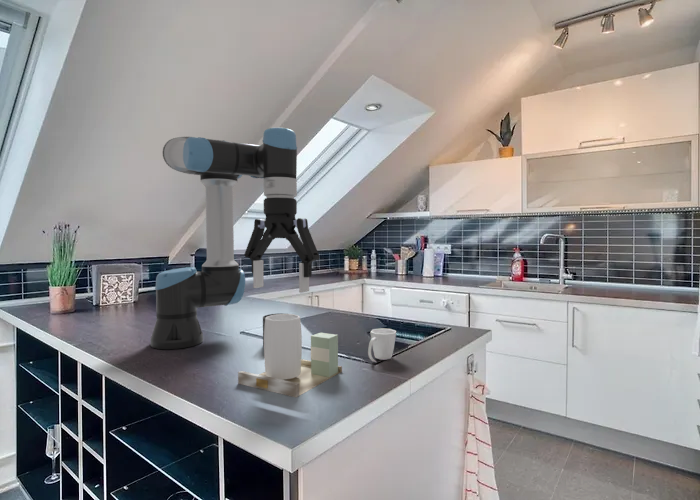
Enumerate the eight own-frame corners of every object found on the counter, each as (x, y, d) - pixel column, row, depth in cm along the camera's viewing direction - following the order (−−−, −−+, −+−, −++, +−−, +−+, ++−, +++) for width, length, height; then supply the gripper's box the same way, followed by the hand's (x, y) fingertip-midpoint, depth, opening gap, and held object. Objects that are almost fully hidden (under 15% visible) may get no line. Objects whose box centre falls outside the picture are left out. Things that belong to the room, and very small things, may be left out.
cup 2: (401, 360, 109) (401, 330, 109) (380, 370, 101) (380, 337, 101) (379, 355, 113) (379, 327, 113) (358, 364, 105) (358, 333, 105)
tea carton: (310, 373, 96) (310, 336, 96) (320, 368, 100) (320, 332, 99) (328, 377, 93) (328, 338, 93) (338, 372, 97) (337, 334, 97)
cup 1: (308, 381, 91) (307, 318, 91) (272, 388, 87) (272, 322, 86) (292, 370, 98) (292, 312, 98) (258, 377, 94) (258, 316, 93)
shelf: (237, 387, 90) (237, 372, 90) (289, 364, 106) (288, 351, 105) (295, 401, 82) (295, 385, 82) (342, 374, 98) (341, 361, 98)
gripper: (229, 198, 97) (229, 287, 97) (315, 194, 84) (315, 296, 85) (251, 200, 103) (252, 284, 104) (334, 196, 91) (334, 291, 92)
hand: (280, 289), depth 94 cm, fingers open, 13 cm apart
